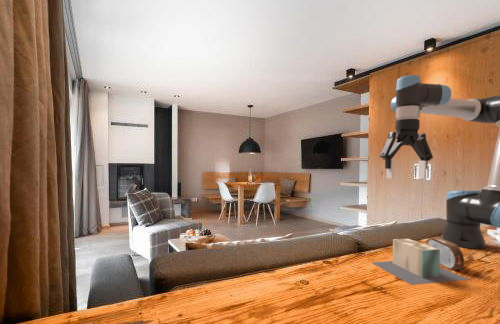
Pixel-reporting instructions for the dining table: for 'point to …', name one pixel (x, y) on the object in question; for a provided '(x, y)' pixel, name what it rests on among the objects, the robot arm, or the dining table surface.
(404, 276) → the mat
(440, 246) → the tin
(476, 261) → the dining table surface
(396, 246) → the block
